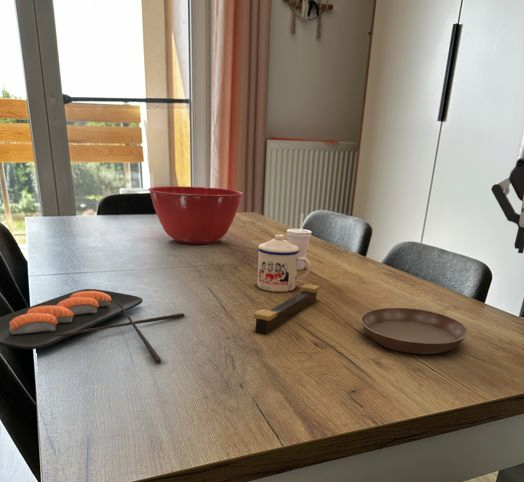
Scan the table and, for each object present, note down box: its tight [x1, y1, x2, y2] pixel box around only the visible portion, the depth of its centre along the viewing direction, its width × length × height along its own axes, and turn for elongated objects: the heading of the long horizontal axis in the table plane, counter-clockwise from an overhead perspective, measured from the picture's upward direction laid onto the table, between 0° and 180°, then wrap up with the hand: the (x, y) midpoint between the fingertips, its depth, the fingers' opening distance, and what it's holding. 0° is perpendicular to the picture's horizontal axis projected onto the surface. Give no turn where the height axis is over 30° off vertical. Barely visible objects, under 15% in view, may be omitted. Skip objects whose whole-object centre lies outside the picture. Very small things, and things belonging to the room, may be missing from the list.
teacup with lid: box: [256, 234, 312, 293], centre depth 113 cm, size 12×9×12 cm
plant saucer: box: [360, 307, 469, 355], centre depth 88 cm, size 18×18×3 cm
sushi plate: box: [0, 288, 185, 364], centre depth 84 cm, size 29×30×4 cm
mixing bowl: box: [147, 185, 243, 245], centre depth 160 cm, size 28×28×15 cm
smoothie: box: [286, 212, 313, 271], centre depth 132 cm, size 6×6×14 cm
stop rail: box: [253, 283, 321, 335], centre depth 97 cm, size 3×24×3 cm, turn 154°
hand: (523, 252), depth 77 cm, fingers closed
